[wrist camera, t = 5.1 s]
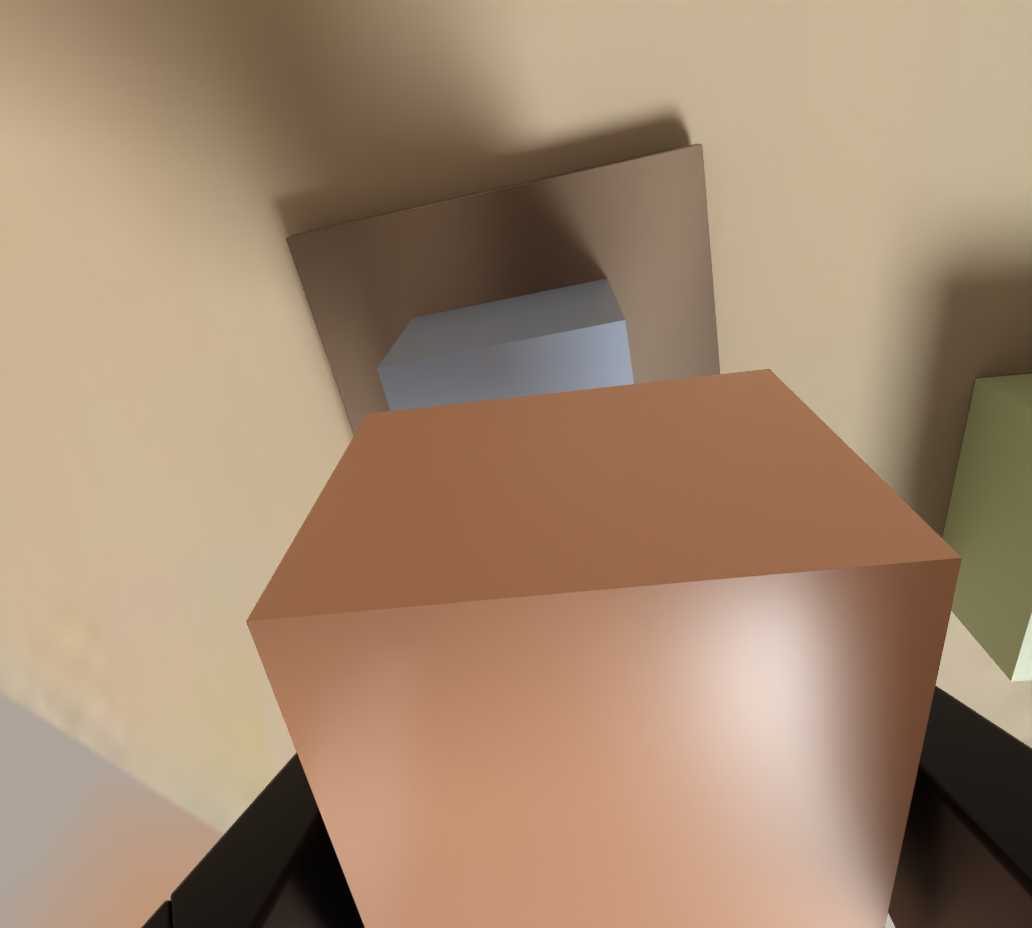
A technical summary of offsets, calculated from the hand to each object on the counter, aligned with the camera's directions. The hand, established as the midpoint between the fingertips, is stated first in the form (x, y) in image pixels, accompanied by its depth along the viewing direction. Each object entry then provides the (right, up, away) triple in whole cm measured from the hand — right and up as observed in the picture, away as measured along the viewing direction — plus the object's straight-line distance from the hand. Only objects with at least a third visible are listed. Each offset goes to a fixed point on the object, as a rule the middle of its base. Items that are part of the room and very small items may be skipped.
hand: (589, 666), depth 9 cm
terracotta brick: (0, +1, +1) cm, 1 cm away
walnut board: (0, +4, +10) cm, 11 cm away
